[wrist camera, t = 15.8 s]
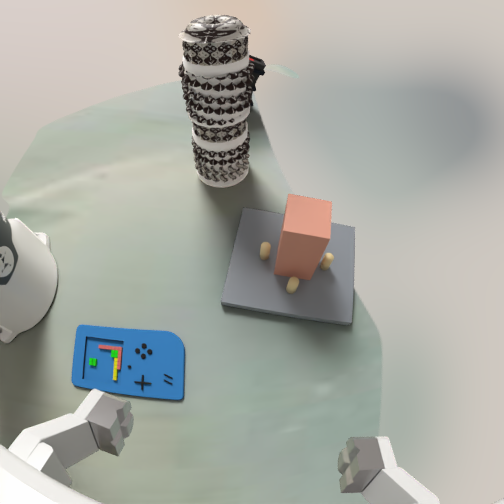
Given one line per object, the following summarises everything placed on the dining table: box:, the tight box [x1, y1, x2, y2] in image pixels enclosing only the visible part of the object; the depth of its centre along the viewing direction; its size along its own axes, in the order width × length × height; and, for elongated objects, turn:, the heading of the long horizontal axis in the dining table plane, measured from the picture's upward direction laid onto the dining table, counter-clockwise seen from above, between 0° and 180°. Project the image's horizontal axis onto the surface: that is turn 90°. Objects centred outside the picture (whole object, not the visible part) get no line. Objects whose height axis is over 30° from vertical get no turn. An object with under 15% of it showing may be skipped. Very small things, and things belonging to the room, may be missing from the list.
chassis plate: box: [221, 207, 355, 325], centre depth 38 cm, size 16×14×4 cm
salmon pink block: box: [274, 194, 332, 280], centre depth 34 cm, size 5×5×10 cm
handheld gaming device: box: [72, 325, 185, 400], centre depth 32 cm, size 8×1×15 cm
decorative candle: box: [179, 15, 255, 188], centre depth 36 cm, size 9×9×25 cm
